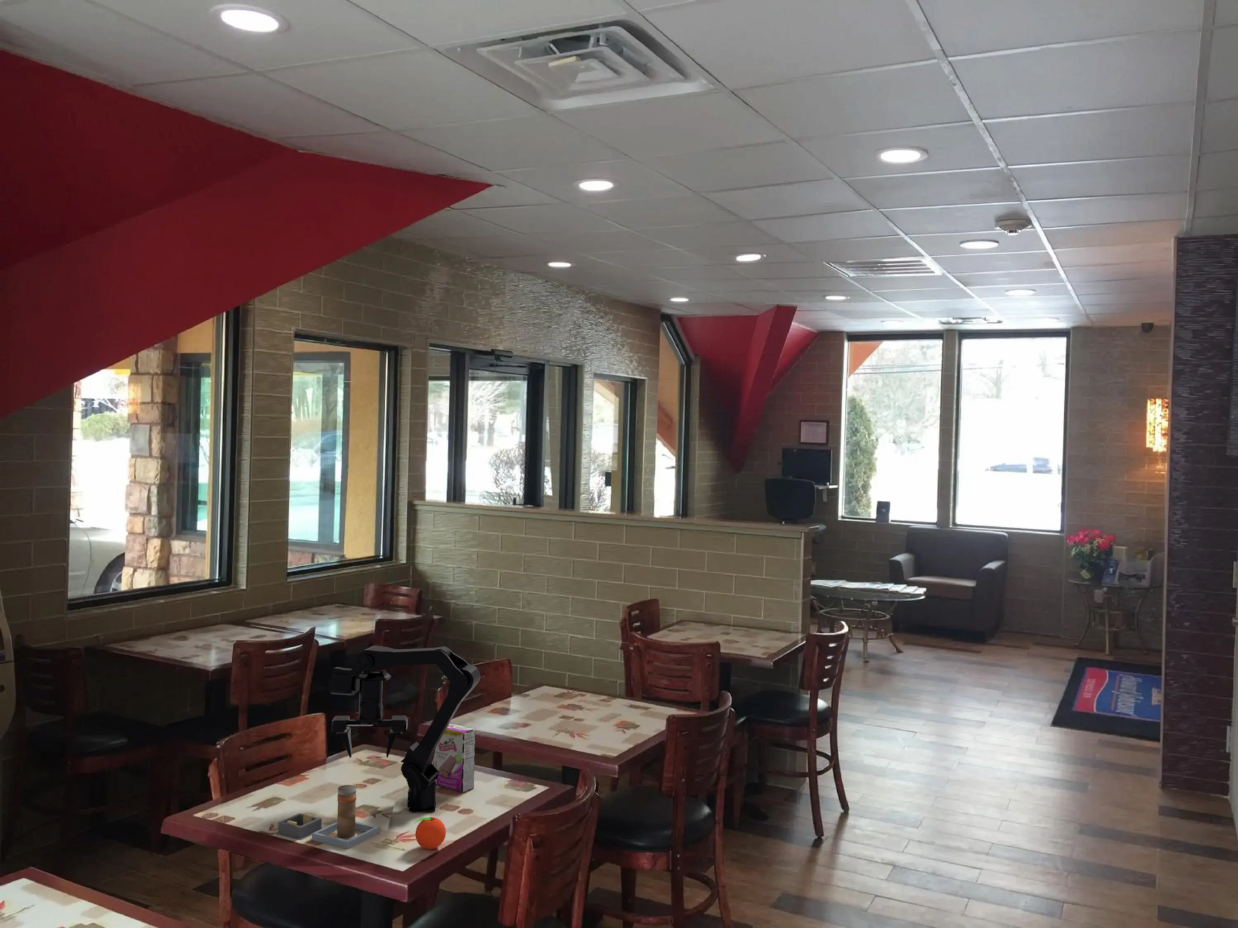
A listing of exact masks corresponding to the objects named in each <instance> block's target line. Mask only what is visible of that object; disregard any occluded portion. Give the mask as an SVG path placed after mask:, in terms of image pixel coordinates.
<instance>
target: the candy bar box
mask: <svg viewBox="0 0 1238 928" xmlns="http://www.w3.org/2000/svg"><path fill="white" fill-rule="evenodd" d="M475 749H476V729H475V728H471V727H467V726H464V725H460V724H455V723H452V722H450V723H449V725H448V727H447V728H446V730H445V732H444V734H443V735H442V737H441V739H440V741H439V743H438V744H437V746H436V749H435V754H434V758H433V761H432V764H433V765H434V766H435V767H436V768H437V769H438V771H439V772H440V773H439V775H438V778H437V779H436V780H435V781H436V787H441V788H445V789H448V790H453V791H455V792H459V793H467V792H468V791H470V790H472V789H474V787H475V758H476V757H475V756H476V755H475V753H476V752H475V751H476V750H475Z"/></svg>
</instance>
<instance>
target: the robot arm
mask: <svg viewBox="0 0 1238 928" xmlns="http://www.w3.org/2000/svg"><path fill="white" fill-rule="evenodd" d="M420 665H423V666H424V665H436V666H437V667H438V668H439V669H440V672H442V673H443V675H444V676H445V678H446V679H448V680H449V681H450V682H449V684H448V687H447V691H446V696H445V698H444V700H443V702H442V704H441V705H440V707H439V709H438V711H437V712H436V714H435V716H434V718H433V720H432V721H431V723H430V725H429V727H428V729H427V730H426V733H425V734H424V736H423V737H422V739H421V741H420V743H419V742H417V741H415V743H413V744H412V745H411V746H410V747H408V749H407V751H406V754H405V756H404V758H403V759H402V760H400V762H401V763H402V764H401V767H400V771H401V775H402V776H403V777H404V779H405V780H406V783H407V787H408V790H407V808H408V812H409V813H434V812H436V807H437V801H436V800H437V797H436V796H437V795H436V793H437V791H436V790H437V785H436V781H435V780H436V779H437V778H438V775H439V773H440V772H439V771H438V769H437V768H436V767H435V766H434V765H433V758H434V754H435V749H436V746H437V744H438V743H439V741H440V739H441V737H442V735H443V734H444V732H445V730H446V728H447V727H448V725H449V723H451V722H452V720H453V717H454V716H455V715H456V712H457V710H458V709H459V708H460V705H461V704H462V702H463V701H464V700H465V699H466V698H467V696H469V694H470V693H471V692H472V691H473V689H474V688H475V687H476V686H477V685H478V684H479V682H480V680H481V673H480V670H479V669H478V667H476V666H475V665H473V664H470V663H468V662H467V661H466V660H465V659H464V658H463V657H460V656H459V655H457V654H455V653H454V652H453V651H452V650H451V649H450V648H448V647H447V646H443V645H442V646H440V647H424V648H422V647H421V648H405V649H404V648H402V649H398V648H392V647H388V646H383V645H371V646H370V647H368V648H366V649H364V650H362V651H361V652H359V654H358V656H357V661H356V663H355V664H354V666H353V667H352V668H347V667H342V666H336V667H334V668H333V669H332V674H331V676H330V679H329V682H328V691H329V693H330V694H331V695H341V696H342V695H343V696H345V695H346V696H355V694H356V693H357V692H359V693H358V695H359V696H358V698H359V699H357V700H355V707H354V708H355V710H354V711H355V713H356V714H358V719H350V715H335V716H334V717H333V719H332V721H331V724H330V732H331V733H335V735H336V736H340V738H341V740H342V743H343V744H344V746H345V750H346V752H347V755H348V757H349V758H350V759H351V758H352V756H353V750H352V749H353V747H352V735H351V734H352V733H351V730H352V729H351V728H389V729H390V730H389V733H388V738H387V739H388V740H387V745H386V752H385V753H386V757H385V758H389V756H390V752H391V751H392V750H391V749H392V746H393V744H394V741H395V740H396V738H397V736H400V735H402V734H403V733H404V732H405V733H406V732H407V730H408V726H409V725H408V724H409V723H408V722H409V718H408V717H407V715H392V716H391V719H383V716H384V706H383V682H386V681H388V680H390V679H391V678H392V675H391V674H389V672H387V670H386V669H387V668H392V667H398V666H399V667H400V666H420ZM376 671H380V672H376ZM363 673H367V674H363Z"/></svg>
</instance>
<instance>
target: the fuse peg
mask: <svg viewBox="0 0 1238 928" xmlns="http://www.w3.org/2000/svg"><path fill="white" fill-rule="evenodd" d="M356 802H357V786H356V785H353V784H344V785H343V784H342V785H340V786H339V787H337V816H336V817H337V821H336V822H337V830H336V838H340V839H344V840H350V839H352V838H354V837H356V830H355V821H356V808H357V806H356V805H357V803H356Z"/></svg>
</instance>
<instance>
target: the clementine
mask: <svg viewBox="0 0 1238 928" xmlns="http://www.w3.org/2000/svg"><path fill="white" fill-rule="evenodd" d="M417 822H419V823H418V824H417V826H416V828H415V834H414V835H415V839H416V842H417V843H418V845H419V846H420V847H422V848H423V849H424V850H434V849H437V848H438V847H440V846H441V845H442V844H443V842H444V841H445V839H446V834H447V831H446V826H445V824H444V822H443V821H442V820H441V819H439V818H437V817H435V816H429V817H427V816H426V817H422V818H419V819H417V820H415V823H417Z"/></svg>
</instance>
